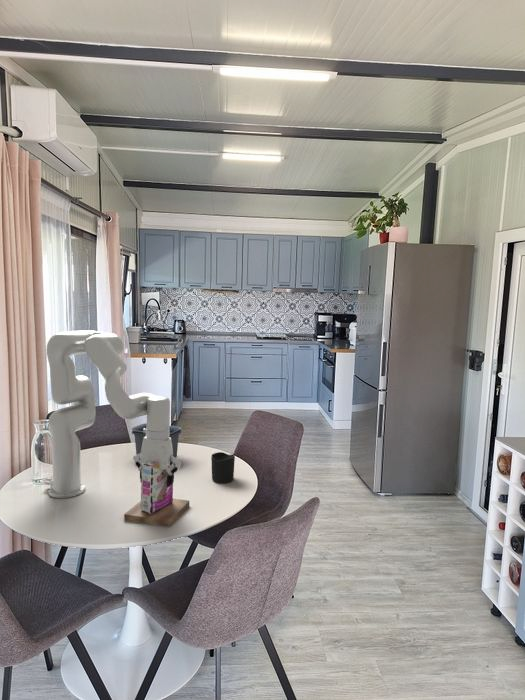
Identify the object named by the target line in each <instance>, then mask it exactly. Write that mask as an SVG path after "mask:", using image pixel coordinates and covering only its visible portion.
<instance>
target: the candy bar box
mask: <svg viewBox="0 0 525 700" xmlns="http://www.w3.org/2000/svg"><path fill="white" fill-rule="evenodd" d="M172 466H173V467H174V463H173V464H172ZM167 475H168V472H167V471H166V470H160V469H159V464H158V463H153V462H145V463H142V473H141V479H140V480H141V482H140V483H141V484H140V489H141V491H140V501H141V511H142V512H145V513H148V514H153V513H155V512H156V511H158V510H160V509H162V508H164V507H165V506H167V505H169V504H171V503H172V502H173V499H174V498H173V496H174V495H173V493H174V483H173V484H172V485H171V486H169V487H167Z"/></svg>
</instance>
